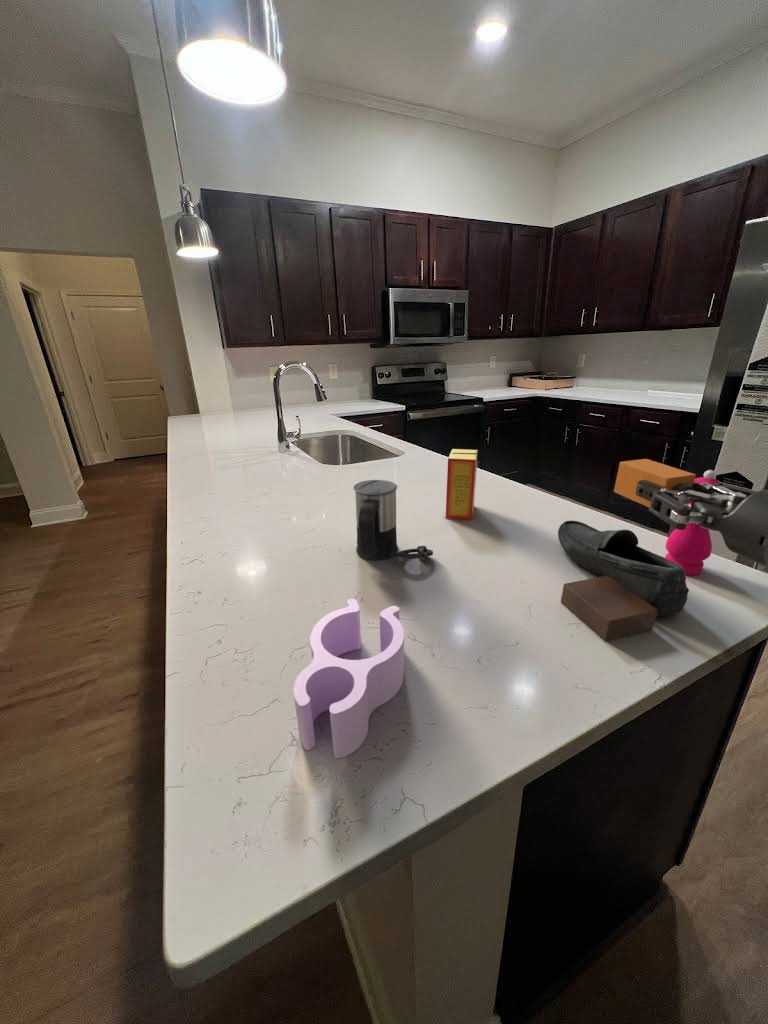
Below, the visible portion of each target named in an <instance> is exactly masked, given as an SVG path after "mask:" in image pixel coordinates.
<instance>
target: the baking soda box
mask: <svg viewBox="0 0 768 1024" xmlns="http://www.w3.org/2000/svg"><path fill="white" fill-rule="evenodd" d="M478 452H479V449H468V448H467V449H465V448H451V451H450V453H449V456H448V458H447V472H446V473H447V475H446V499H445V519H452V520H453V519H454V520H464V521H472V520H473V513H474V509H475V498H476V497H475V496H476V485H477V483H476V482H477V468H478V454H479V453H478Z"/></svg>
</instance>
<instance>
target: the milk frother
mask: <svg viewBox="0 0 768 1024" xmlns="http://www.w3.org/2000/svg"><path fill="white" fill-rule="evenodd" d="M353 490H354V495H355V521H356V548H355V550H356V553H357V554H358V555H359V556H360V557H362V558H365V559H370V560H384V559H389V558H391V557H396V558H401V559H427V558H428V557H431V556H433V555H434V551H433V550H432V549H429V548H427V546H426V545H418V546H417V547H416V548H408V549H404V550H401V551H399V546H398V540H397V538H398V537H397V536H398V535H397V490H398V485H397V484H396V483H395V482H393V481H390V480H387V479H386V480H385V479H369V480H363V481H359V482H357V483H355V484H354V485H353Z"/></svg>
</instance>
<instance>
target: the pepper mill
mask: <svg viewBox="0 0 768 1024" xmlns="http://www.w3.org/2000/svg"><path fill="white" fill-rule="evenodd" d="M716 477H717V473H716V471H715V470H712V469H708V470H706V471H704V473H703V476H701V477H695V480H694V482H697V483H703V482H705V483H708V484H710V485H712V486H714V485H715V483H722V482H721V481H720V480H718V479H716ZM693 500H694V499H692V501H693ZM692 501H691V502H690V503H689V507H690V508H691V504H692ZM665 549H666V551H667V553H666V554H665V556H664V558H666V559H669V560H671V561H673V562H674V563H676V564H678V565H680V566H681V567H682V568H683V569H684V570H685V575H686V576H698V575H700V574H701V573H702V572H703V569H704V566H705V563H704V561H705V560H707V559H709V558H710V556H711V555H712V549H713V542H712V539H711V534H710V530H709V529H706V528H702V527H701V526H700V525H699V524H696V523H687V526H686V529H685V530H679V529H676V528H674V530H673V531H672V532H671V533H670V535H669V536H668V537H667V539H666V541H665Z"/></svg>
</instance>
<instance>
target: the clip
mask: <svg viewBox="0 0 768 1024" xmlns="http://www.w3.org/2000/svg"><path fill="white" fill-rule="evenodd" d="M346 603H347V604H346V605H347V606H346V607H342V608H339V609H336V610H334V611H330V612H329V613H327V614H326V615H324V616H323V617H322V618H321V619H319V620H318V621H317V622H316V623H315V625H314V626H313V627H312V630H311V633H310V636H309V644H310V645H309V646H310V653H311V662H310V663H309V665H307V666H306V667H305V668H304V669H302V671H300V673H299V674H298V675H297V677H296V679H295V681H294V683H293V686H292V687H293V688H292V691H293V700H294V708H295V714H296V719H297V720H296V721H297V728H298V736H299V741H300V743H301V745H302V747H303V749H304V750H305V751H310V750H312V749H313V748H314V747H315V746H316V735H315V728H314V722H315V720H316V719H317V718H318V716H320V715H321V714H323V713H324V712H326V711H328V710H329V718H330V719H329V720H330V729H331V739H332V749H333V750H332V751H333V756H334V758H335V759H342V758H345V757H347V756H349V755H351V754H353V753H354V752H356V751H357V750H358V749H359V748H360V747H361V746H362V744H363V743H364V742H365V740H366V738H367V735H368V733H369V719H370V716H371V715H372V713H373V711H374V710H375V709H377V708H379V707H380V706H382V705H384V704H386V703H388V702H389V701H390V700H392V699H393V698H394V697H395V696H396V695H397V694H398V693H399V691H400V690H401V688H402V686H403V682H404V679H405V631H404V627H403V624H402V622H401V621H400V607H399V606H397V605H391V606H389V607H387V608H385V609H383V610H382V611H381V612H380V613H379V642H380V643H379V645H380V648H379V649H380V653H378V654H376V655H374V656H370V657H368V658H362V659H347V658H341V657H339V656H342V655H343V654H345V653H348V652H351V651H352V652H353V651H357V650H361V648H362V634H361V633H362V632H361V616H360V615H361V613H360V605H359V602H358V600H357V599H356V598H349V599H347V602H346Z"/></svg>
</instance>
